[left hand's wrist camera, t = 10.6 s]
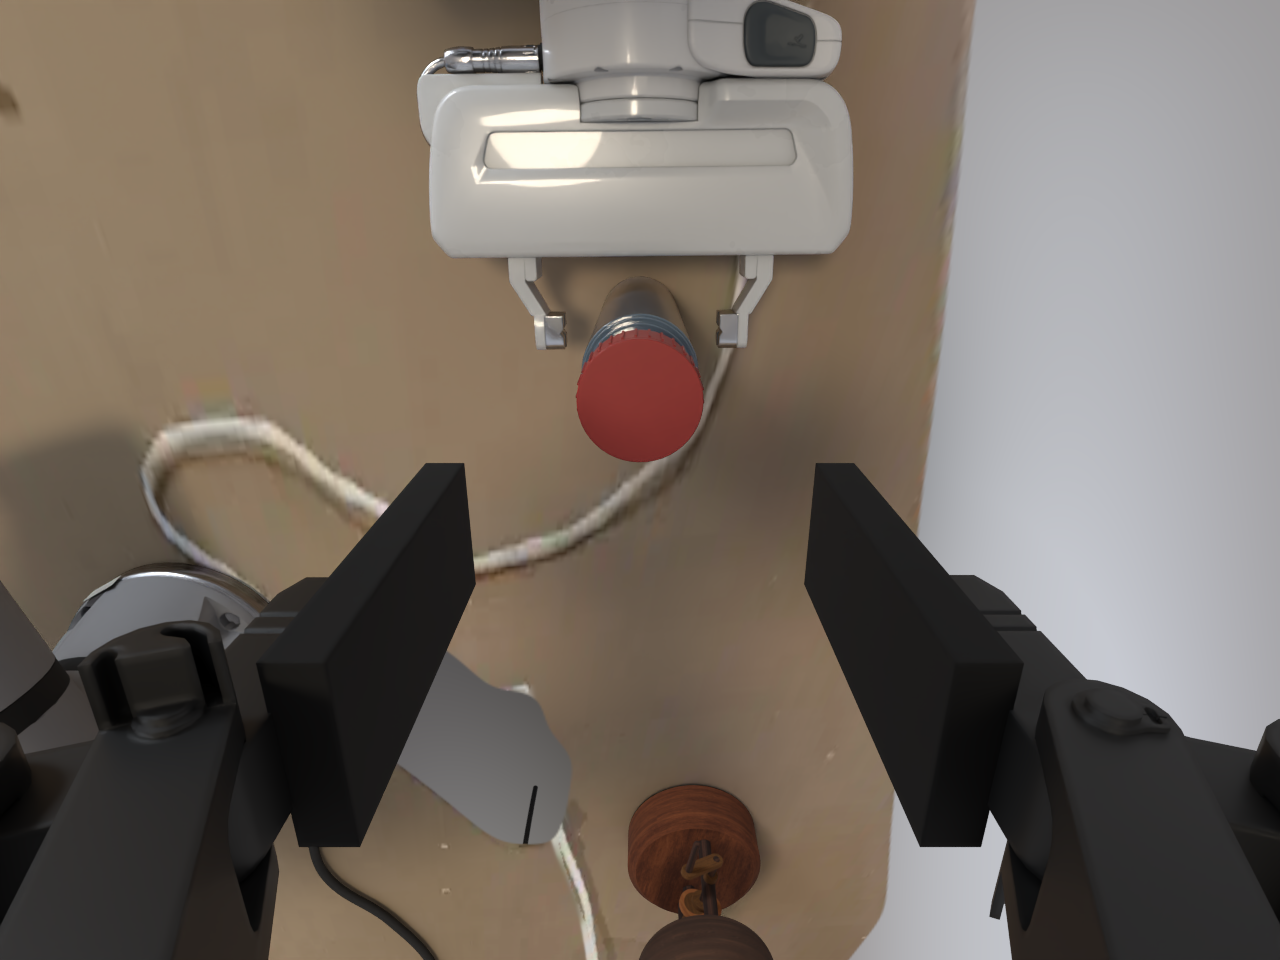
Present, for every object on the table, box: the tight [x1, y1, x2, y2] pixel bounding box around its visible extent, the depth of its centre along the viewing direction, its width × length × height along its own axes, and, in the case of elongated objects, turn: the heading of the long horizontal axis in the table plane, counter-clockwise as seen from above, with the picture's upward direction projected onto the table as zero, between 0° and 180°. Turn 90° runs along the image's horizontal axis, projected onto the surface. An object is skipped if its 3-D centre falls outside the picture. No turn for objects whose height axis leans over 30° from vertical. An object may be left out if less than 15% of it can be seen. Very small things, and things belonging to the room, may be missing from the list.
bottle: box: [582, 277, 698, 374], centre depth 33 cm, size 5×5×21 cm
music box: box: [628, 785, 773, 960], centre depth 49 cm, size 15×11×20 cm
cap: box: [576, 328, 704, 462], centre depth 24 cm, size 4×4×2 cm
